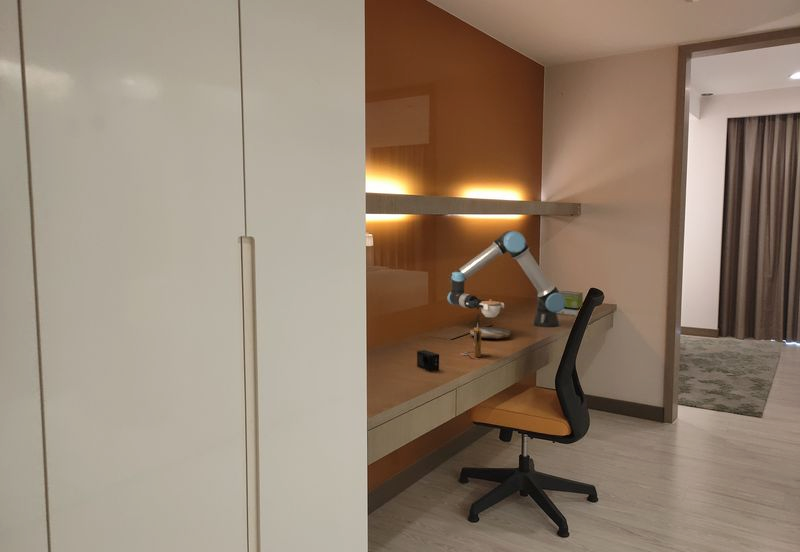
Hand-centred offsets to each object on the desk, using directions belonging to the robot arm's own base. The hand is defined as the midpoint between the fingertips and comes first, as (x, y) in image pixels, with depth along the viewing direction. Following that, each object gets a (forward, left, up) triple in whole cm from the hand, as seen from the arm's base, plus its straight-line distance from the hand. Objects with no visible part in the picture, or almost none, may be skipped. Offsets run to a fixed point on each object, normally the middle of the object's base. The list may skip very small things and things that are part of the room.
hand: (496, 306), depth 329 cm
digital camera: (+69, +29, -18) cm, 77 cm away
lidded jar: (0, -4, -6) cm, 7 cm away
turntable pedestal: (0, -4, -17) cm, 18 cm away
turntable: (0, -4, -16) cm, 16 cm away
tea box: (-99, -32, -18) cm, 106 cm away
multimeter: (+38, +22, -18) cm, 47 cm away
